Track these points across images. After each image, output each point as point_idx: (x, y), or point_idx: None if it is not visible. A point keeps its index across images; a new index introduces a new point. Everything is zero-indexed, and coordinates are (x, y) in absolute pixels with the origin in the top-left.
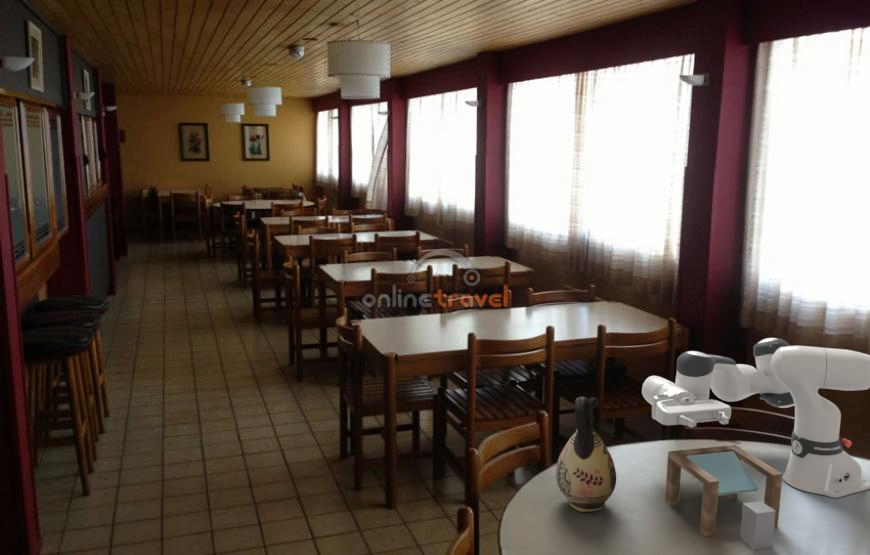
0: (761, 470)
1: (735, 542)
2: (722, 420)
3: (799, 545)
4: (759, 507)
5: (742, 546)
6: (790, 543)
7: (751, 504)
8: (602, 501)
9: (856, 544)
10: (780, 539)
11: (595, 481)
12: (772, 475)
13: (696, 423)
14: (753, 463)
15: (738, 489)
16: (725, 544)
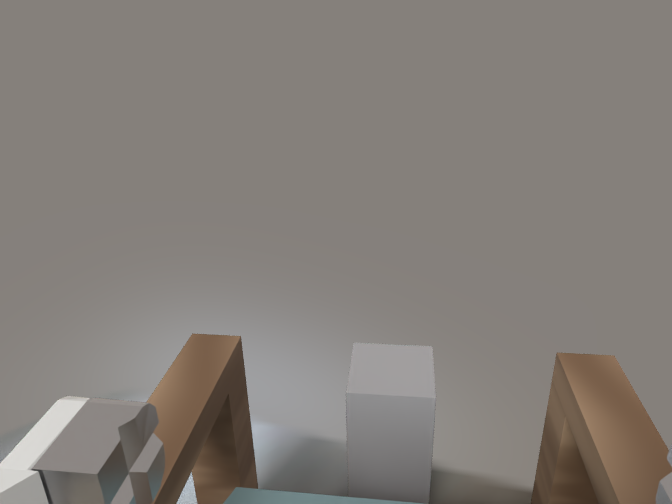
0: (213, 408)
1: (463, 499)
2: (135, 459)
3: (267, 432)
4: (392, 366)
5: (453, 474)
6: (282, 446)
7: (405, 386)
8: None
9: (113, 397)
10: (291, 470)
11: None
12: (238, 346)
13: (667, 457)
14: (184, 454)
15: (353, 501)
16: (509, 499)
